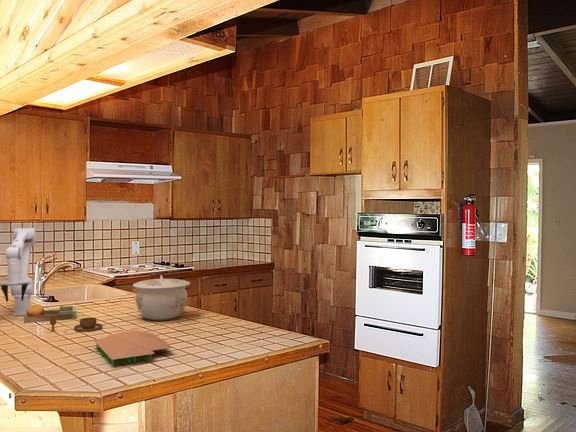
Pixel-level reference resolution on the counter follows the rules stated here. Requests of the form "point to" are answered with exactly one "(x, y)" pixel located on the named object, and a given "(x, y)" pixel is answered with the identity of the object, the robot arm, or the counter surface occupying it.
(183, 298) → the chamber pot
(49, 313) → the chute
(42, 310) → the fruit
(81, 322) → the place setting
